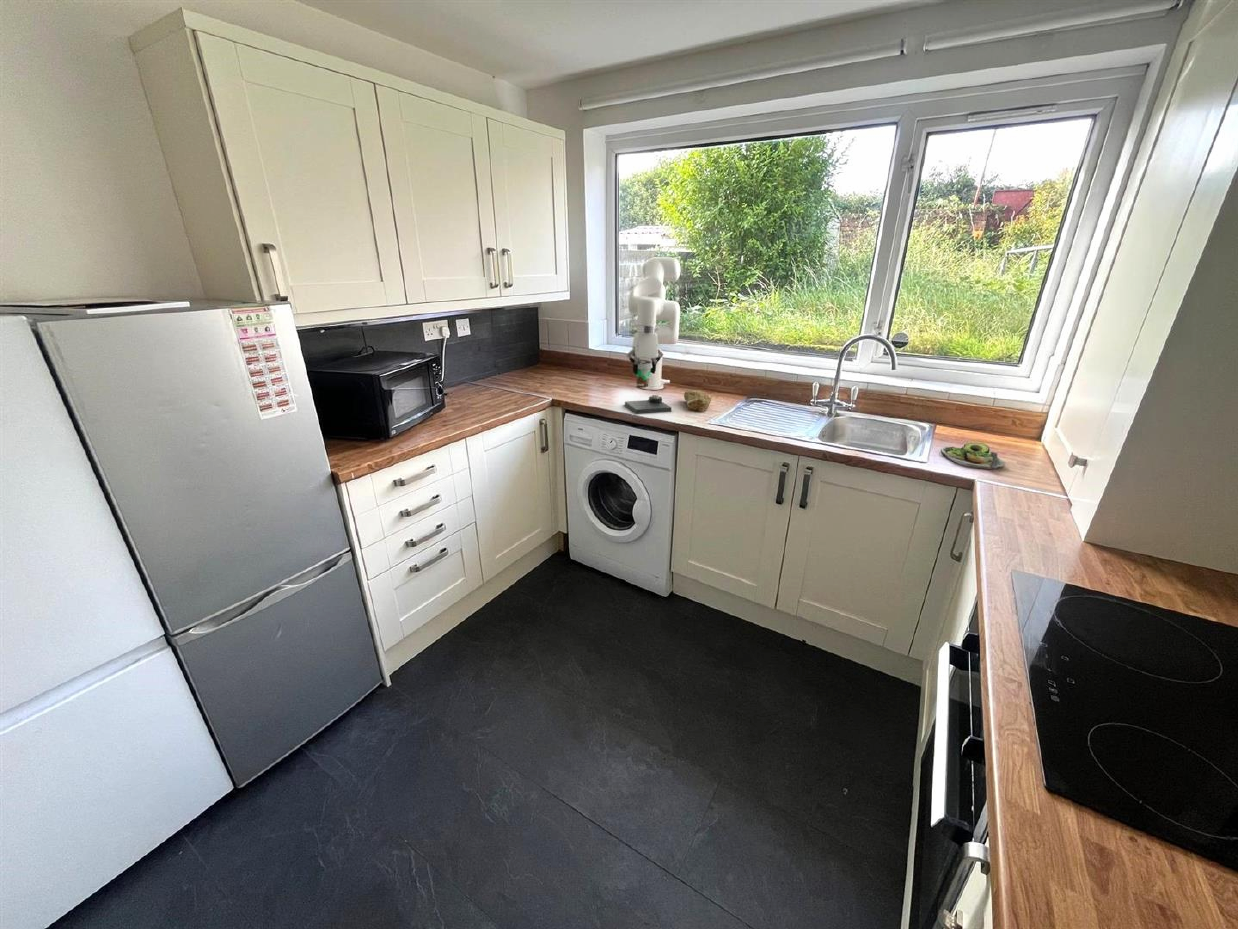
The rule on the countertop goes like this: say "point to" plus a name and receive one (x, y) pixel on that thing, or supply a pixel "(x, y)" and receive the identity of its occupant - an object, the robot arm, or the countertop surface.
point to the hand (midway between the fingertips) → (644, 373)
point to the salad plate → (973, 456)
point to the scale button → (655, 396)
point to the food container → (643, 373)
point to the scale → (648, 406)
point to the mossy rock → (697, 400)
